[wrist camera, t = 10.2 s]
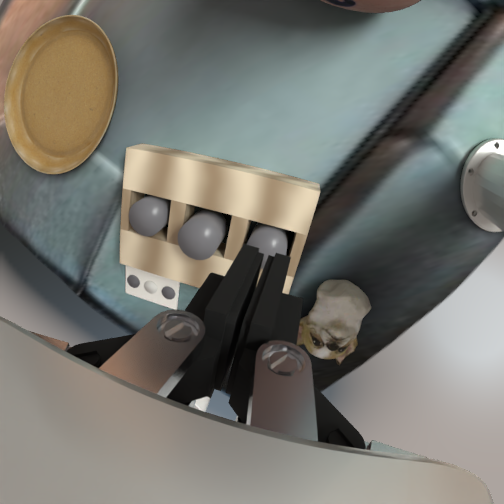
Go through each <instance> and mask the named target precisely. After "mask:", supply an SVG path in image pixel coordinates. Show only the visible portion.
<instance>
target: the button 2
mask: <svg viewBox="0 0 504 504" xmlns="http://www.w3.org/2000/svg"><path fill="white" fill-rule="evenodd" d="M288 240H289V232H288V230H286V229H282V228H278V227H275V226H271V225H267V224H263V223H260V222H258V223H257V224H256V226H255V227H254V229H253V232H252V234H251V236H250V238H249V240H248V242H247V245H250V246H254V247H257V248H259V252H260V253H263V254H264V257H263V261H262V265H261V269H263V268H264V266H265V263H266V261H267V258H268V256H269V255H271V256H274V257H275V254H276V253H279V254H283V255H286V252H287V246H288Z"/></svg>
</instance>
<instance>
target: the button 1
mask: <svg viewBox="0 0 504 504" xmlns="http://www.w3.org/2000/svg"><path fill="white" fill-rule="evenodd" d="M170 206H171V200H170V199H165V198H161V197H157V196H153V195H147V196H146V197H144V198H142V199H141V200H139V201H137V202H136V203H134V204H133V205H132V206H131V208H130V211H129V221H130V224H131V226H132V227H133V229H134V230H135V231H136V232H137V233H139V234H140V235H143V236H153V235H155V234H156V233H158V232H159V231H160V230H161V229H162V228H163V227H165V226H166V225H167V224H168V223H169V215H170Z"/></svg>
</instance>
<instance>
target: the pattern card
mask: <svg viewBox="0 0 504 504" xmlns="http://www.w3.org/2000/svg"><path fill="white" fill-rule="evenodd" d="M179 288H180V282H178V281H175V280H171V279H168V278H165V277H162V276H158V275H155V274H152V273H149V272H146V271H143V270H140V269H136V268H133V267H130V266H127V265H126V293H128V294H130V295H133V296H136V297H139V298H142V299H145V300H148V301H151V302H154V303H157V304H160V305H163V306H166V307H169V308H172V309H175V310H177V307H178V297H179Z"/></svg>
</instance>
